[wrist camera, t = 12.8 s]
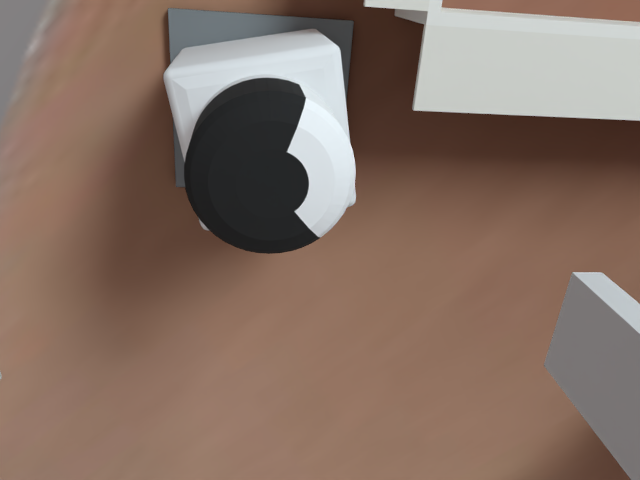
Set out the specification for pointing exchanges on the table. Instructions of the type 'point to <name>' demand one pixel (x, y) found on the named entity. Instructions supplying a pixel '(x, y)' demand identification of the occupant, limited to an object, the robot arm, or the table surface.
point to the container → (264, 138)
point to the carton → (523, 63)
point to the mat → (230, 26)
